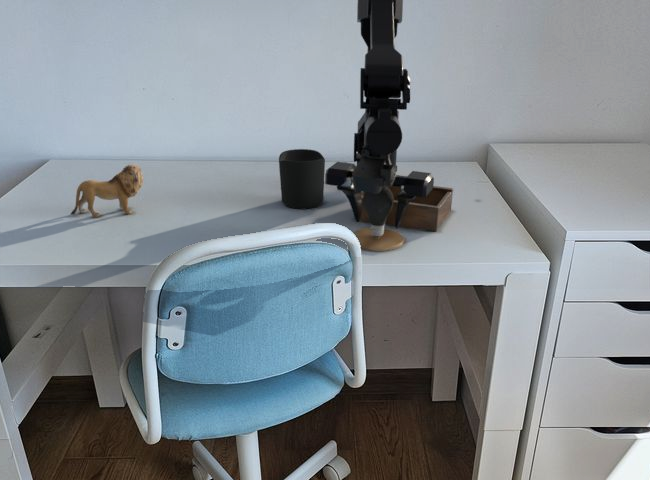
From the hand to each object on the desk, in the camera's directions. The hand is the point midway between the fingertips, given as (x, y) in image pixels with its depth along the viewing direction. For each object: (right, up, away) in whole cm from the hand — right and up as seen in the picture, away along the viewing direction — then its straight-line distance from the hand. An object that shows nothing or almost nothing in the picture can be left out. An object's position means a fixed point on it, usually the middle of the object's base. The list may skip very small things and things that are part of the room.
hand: (377, 224), depth 128 cm
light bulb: (0, -2, +1) cm, 3 cm away
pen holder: (-15, +8, +19) cm, 25 cm away
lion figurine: (-53, +5, +12) cm, 54 cm away
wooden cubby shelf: (+6, +4, +13) cm, 15 cm away
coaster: (0, -3, +2) cm, 3 cm away
